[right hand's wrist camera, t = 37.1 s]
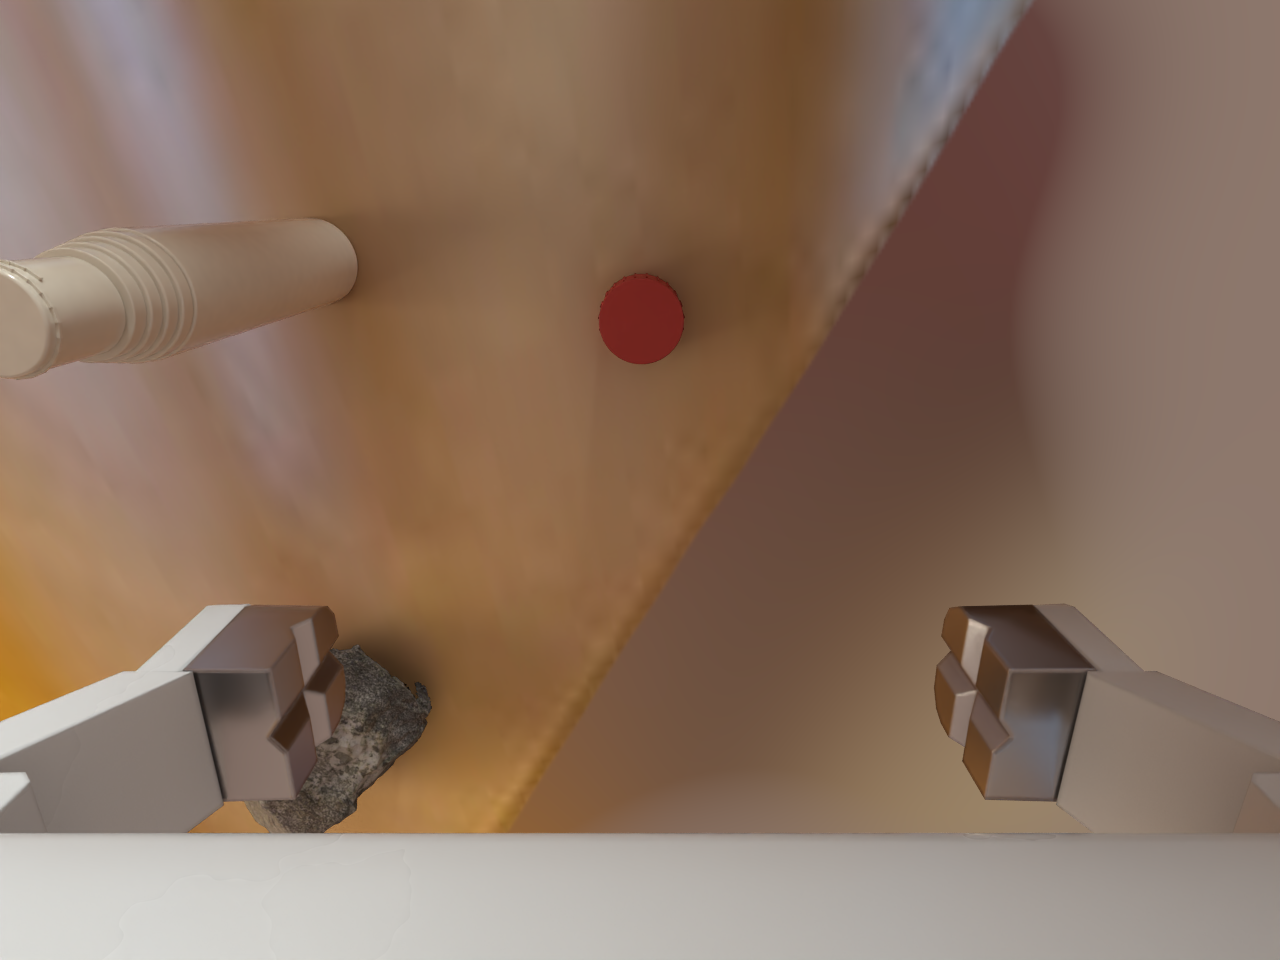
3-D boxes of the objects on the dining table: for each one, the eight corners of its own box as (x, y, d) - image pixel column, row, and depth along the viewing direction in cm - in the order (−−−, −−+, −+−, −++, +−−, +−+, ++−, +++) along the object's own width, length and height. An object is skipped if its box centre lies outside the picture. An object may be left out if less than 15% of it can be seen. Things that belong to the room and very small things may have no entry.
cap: (666, 260, 38) (668, 264, 36) (693, 339, 39) (696, 348, 37) (588, 289, 39) (585, 295, 36) (617, 367, 40) (616, 377, 38)
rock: (330, 602, 44) (281, 668, 38) (461, 670, 46) (435, 744, 40) (239, 757, 48) (183, 840, 42) (364, 814, 50) (327, 901, 44)
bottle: (374, 254, 38) (104, 309, 19) (330, 321, 39) (35, 436, 20) (300, 199, 37) (-61, 197, 18) (258, 268, 38) (-123, 336, 19)
